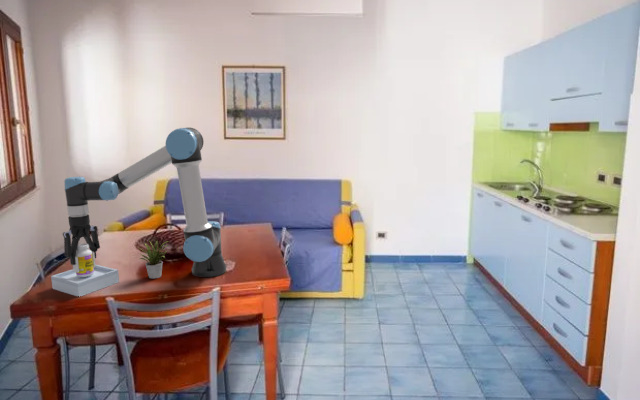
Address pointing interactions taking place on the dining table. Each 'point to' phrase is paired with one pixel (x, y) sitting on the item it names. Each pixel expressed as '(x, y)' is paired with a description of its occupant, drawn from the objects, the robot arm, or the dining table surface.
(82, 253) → the supplement bottle
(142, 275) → the dining table surface
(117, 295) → the dining table surface
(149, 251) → the house plant
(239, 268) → the dining table surface
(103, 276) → the shallow open tray
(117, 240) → the dining table surface
